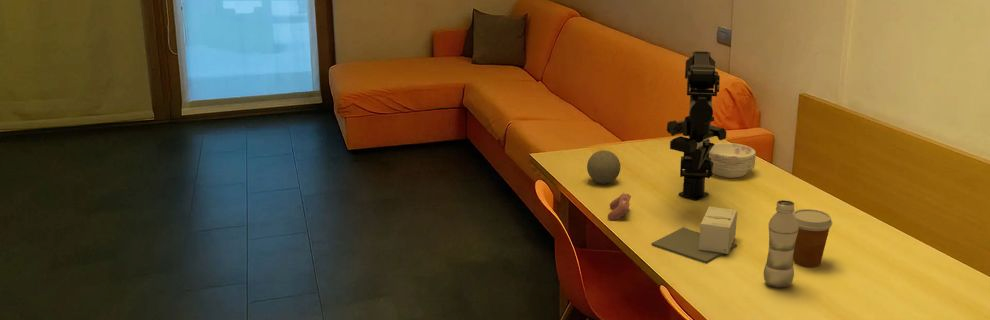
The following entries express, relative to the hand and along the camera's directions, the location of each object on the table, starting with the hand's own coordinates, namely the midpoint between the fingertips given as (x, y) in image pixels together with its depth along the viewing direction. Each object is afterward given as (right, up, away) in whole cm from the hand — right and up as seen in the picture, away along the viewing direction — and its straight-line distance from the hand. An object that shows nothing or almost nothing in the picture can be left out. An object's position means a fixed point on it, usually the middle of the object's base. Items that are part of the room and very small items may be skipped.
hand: (696, 169), depth 244 cm
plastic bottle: (+10, -26, -37) cm, 47 cm away
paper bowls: (+18, -2, +36) cm, 40 cm away
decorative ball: (-22, -5, +29) cm, 37 cm away
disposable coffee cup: (+21, -22, -26) cm, 40 cm away
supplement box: (+4, -13, -12) cm, 18 cm away
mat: (-4, -19, -16) cm, 26 cm away
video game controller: (-20, -13, +5) cm, 24 cm away
